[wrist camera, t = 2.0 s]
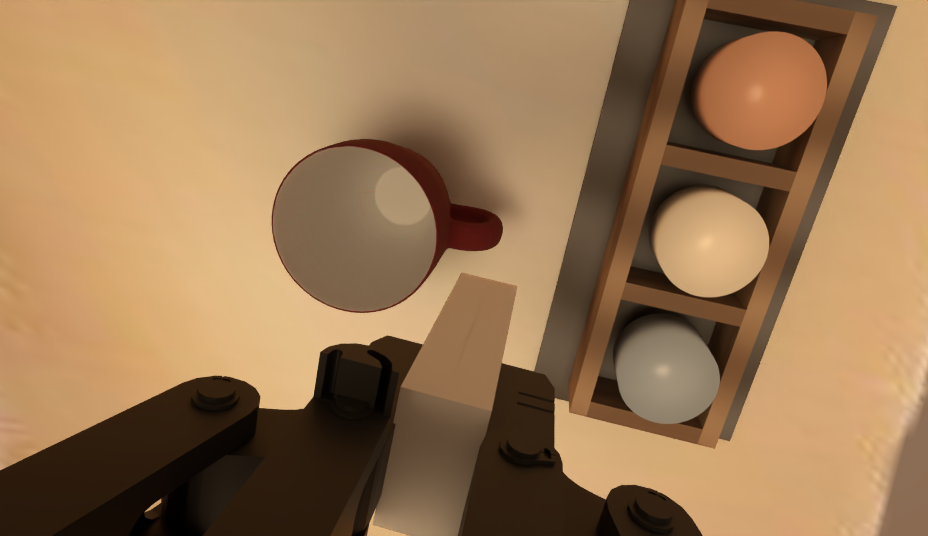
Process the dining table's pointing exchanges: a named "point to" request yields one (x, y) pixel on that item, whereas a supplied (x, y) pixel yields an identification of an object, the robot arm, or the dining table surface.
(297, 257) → the mug
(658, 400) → the slate egg
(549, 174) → the dining table surface
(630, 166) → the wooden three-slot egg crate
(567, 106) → the dining table surface
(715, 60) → the brown oval piece
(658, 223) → the cream egg
